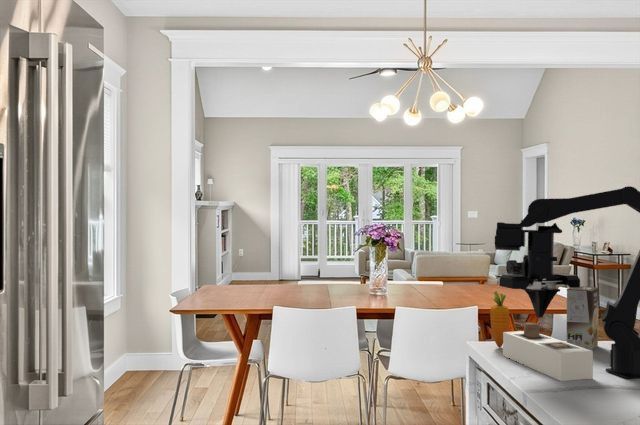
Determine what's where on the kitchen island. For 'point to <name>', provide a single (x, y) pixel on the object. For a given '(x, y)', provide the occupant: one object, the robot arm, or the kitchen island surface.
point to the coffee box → (582, 317)
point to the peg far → (531, 330)
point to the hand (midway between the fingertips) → (539, 317)
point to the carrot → (499, 319)
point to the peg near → (558, 346)
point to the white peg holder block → (549, 356)
